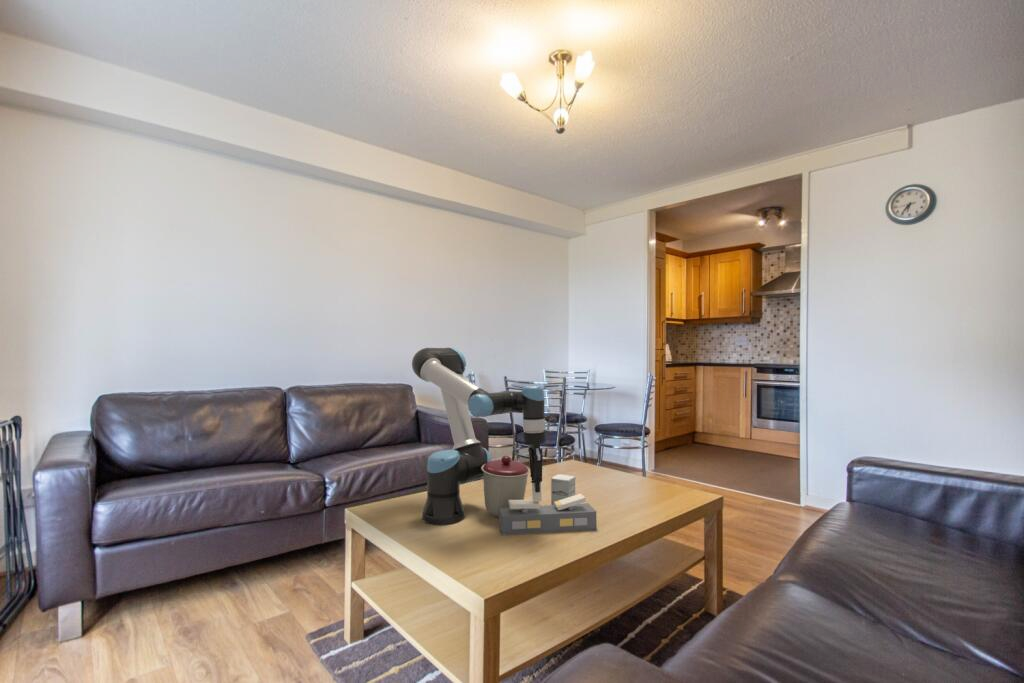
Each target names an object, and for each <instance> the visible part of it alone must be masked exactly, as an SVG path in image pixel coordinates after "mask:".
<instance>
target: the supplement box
mask: <svg viewBox="0 0 1024 683" xmlns="http://www.w3.org/2000/svg"><path fill="white" fill-rule="evenodd" d="M550 481H551V482H550V483H551V484H550V485H551V486H550V487H551V488H550V489H551V490H550V491H551V493H550V494H551V497H550V498H551V500H550V502H551V504H550V505H555V504H554V502H555V501H558V500H562V499H565V498H568V497H571V496H574V495H576V476H575V475H567V474H561V473H558V474H556V475H554V476H553V477H551V480H550Z"/></svg>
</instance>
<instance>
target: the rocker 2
mask: <svg viewBox="0 0 1024 683" xmlns="http://www.w3.org/2000/svg"><path fill="white" fill-rule="evenodd" d="M586 502H587V500H586V497H585V496H584V495H583V494H582V493H578V494H575V495H574V496H571V497H568V498H565V499H562V500H558V501H555V502H554V504H555V507H556V508H557V509H558V510H561V509H565V508H568V507H571V506H574V505H577V504H584V503H586Z"/></svg>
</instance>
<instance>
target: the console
mask: <svg viewBox="0 0 1024 683" xmlns="http://www.w3.org/2000/svg"><path fill="white" fill-rule="evenodd" d="M498 526H499V529H500V532H501V535H502V536H511V535H512V536H514V535H527V534H529V535H531V534H546V533H561V532H563V533H565V532H576V531H577V532H578V531H581V532H582V531H595V530H597V529H598V528H597V526H598V525H597V511H596V510H595V509H594V507H592V505H591V504H589V503H588V502H587V503H586V502H583V503H580V504H577V505H574V506H571V507H568V508H565V509H561V510H558V509H557V508H556V507H555V505H551V504H549V505H548V504H547V505H540V509H510V507H508V508H499V517H498Z"/></svg>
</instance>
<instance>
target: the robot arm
mask: <svg viewBox="0 0 1024 683" xmlns="http://www.w3.org/2000/svg"><path fill="white" fill-rule="evenodd" d="M466 367H467V362H466V358H465V355H464V353H462V351H460V350H459V349H457V348H451V347H424V348H421V349H420V350H418V351H417V352H416V353H415V354H414V355H413V358H412V361H411V368H412V371H413V373H414V374H415V375H416V376H417V377H418V378H419V379H420V380H422V381H424V382H427V383H428V382H430V383H432V384H434V385H435V386H436V387H438V388H440V392H441V395H442V399H443V404H444V407H445V412H446V416H447V420H448V423H449V424H448V425H449V428H450V431H451V436H452V437H451V438H452V440H453V447H452V449H445V450H439V451H436V452H433V453H431V454H430V455H429V456H428V458H427V466H426V471H427V472H426V473H427V474H426V475H427V478H426V479H427V481H426V483H427V484H426V486H427V487H426V489H427V490H426V491H427V495H426V496H427V497H426V500H425V504H424V507H423V510H422V514H421V515H422V516H421V518H423V519H422V521H423V520H424V521H426V522H428V523H427V524H430V523H431V525H437V524H438V525H439V526H441V525H450V524H456V523H458V522H461V521H462V520H464V518H465V509H464V505H463V502H462V499H461V495H460V490H461V489H460V486H461V485H464V484H468V483H471V482H475V481H479V480H481V479H483V471H482V469H481V467H482V466H483V465H484V464H486V463H488V462H490V461H492V456H491V454H490V452H489V450H487V448H485V447H483V446H482V443H481V441H480V440H479V439H477V438H476V435H475V434H476V433H475V431H474V428H473V427H474V426H473V424H472V423H473V422H472V420H471V416H473V417H476V418H486V417H489V416H496V415H503V414H511V413H517V414H522V424H523V425H522V427H523V428H522V430H523V431H524V432H523V442H524V444H527V445H529V447H528V458H529V459H528V460H529V469H530V472H529V474H530V475H529V476H530V478H531V481H530V483H531V487H532V488H531V489H532V490H531V491H532V494H531V497H532V500H533V502H539V503H540V502H542V482H543V459H544V456H543V450H542V448H541V444H545V443H546V442H547V439H546V438H547V437H546V435H547V434H546V431H545V430H546V424H548V423H547V420H546V416H545V399H546V397H545V392H544V387H543V386H542V385H526V386H523V387H522V389H521V391H513V390H502V391H498V392H488V391H486V390H484V389H483V388H481V387H480V386H478V385H476V384H474V383H473V382H471V381H470V380H468V379H466V378H465V377H464V373H465V372H466ZM470 415H471V416H470ZM424 521H423V522H424ZM426 522H425V523H426Z"/></svg>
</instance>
